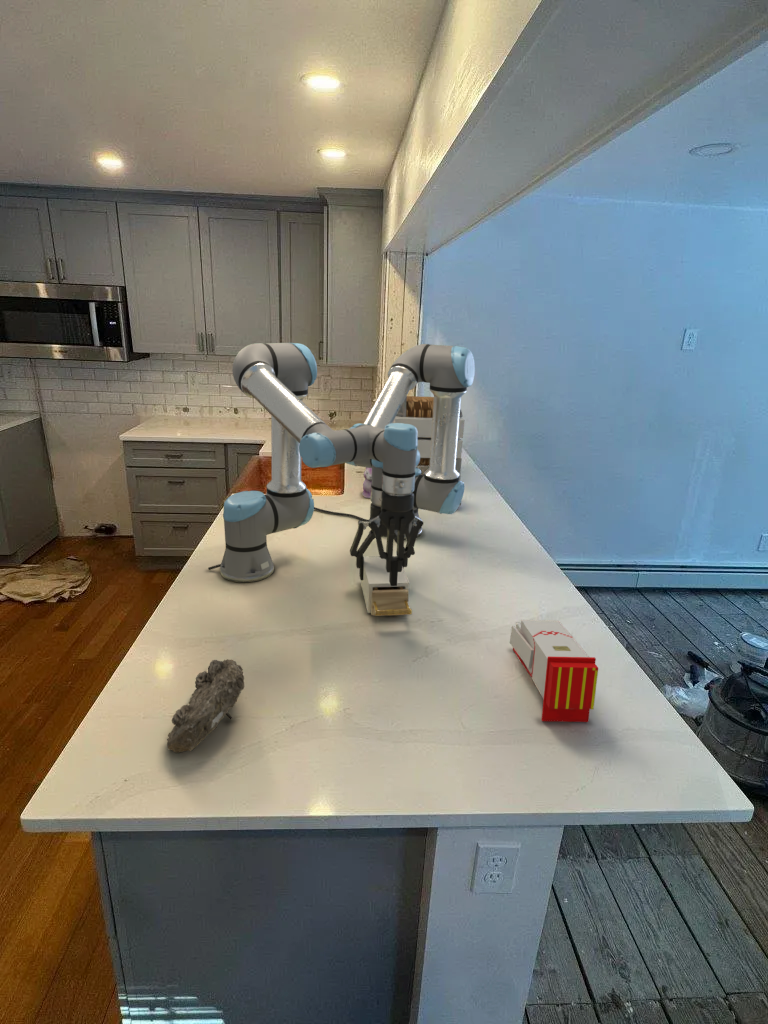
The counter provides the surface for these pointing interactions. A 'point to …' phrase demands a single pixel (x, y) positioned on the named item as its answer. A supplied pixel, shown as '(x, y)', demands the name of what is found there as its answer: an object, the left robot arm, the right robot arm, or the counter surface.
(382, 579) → the cabinet
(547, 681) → the toy
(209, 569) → the left robot arm
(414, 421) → the white slatted crate
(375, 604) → the drawer
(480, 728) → the counter surface
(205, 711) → the fossil
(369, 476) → the figurine
